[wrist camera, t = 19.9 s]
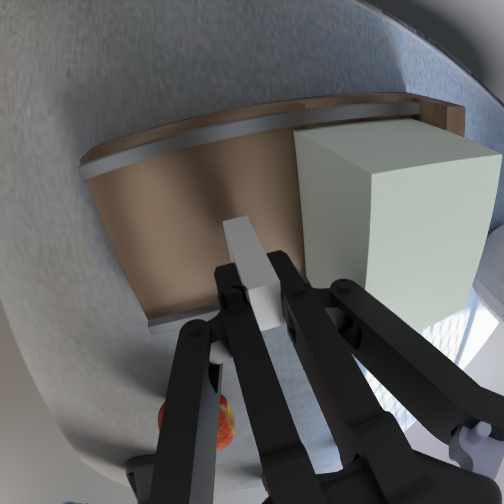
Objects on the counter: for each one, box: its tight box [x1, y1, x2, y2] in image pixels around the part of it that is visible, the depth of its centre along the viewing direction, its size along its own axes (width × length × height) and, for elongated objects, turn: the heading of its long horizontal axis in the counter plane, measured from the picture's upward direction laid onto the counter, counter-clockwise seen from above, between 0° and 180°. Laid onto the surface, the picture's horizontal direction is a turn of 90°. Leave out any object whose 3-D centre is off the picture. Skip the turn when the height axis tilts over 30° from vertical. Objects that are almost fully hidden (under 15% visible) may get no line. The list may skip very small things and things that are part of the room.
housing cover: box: [293, 118, 502, 359], centre depth 17 cm, size 9×11×8 cm
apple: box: [158, 393, 235, 451], centre depth 30 cm, size 8×8×8 cm
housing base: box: [78, 92, 465, 334], centre depth 20 cm, size 24×14×6 cm, turn 99°
